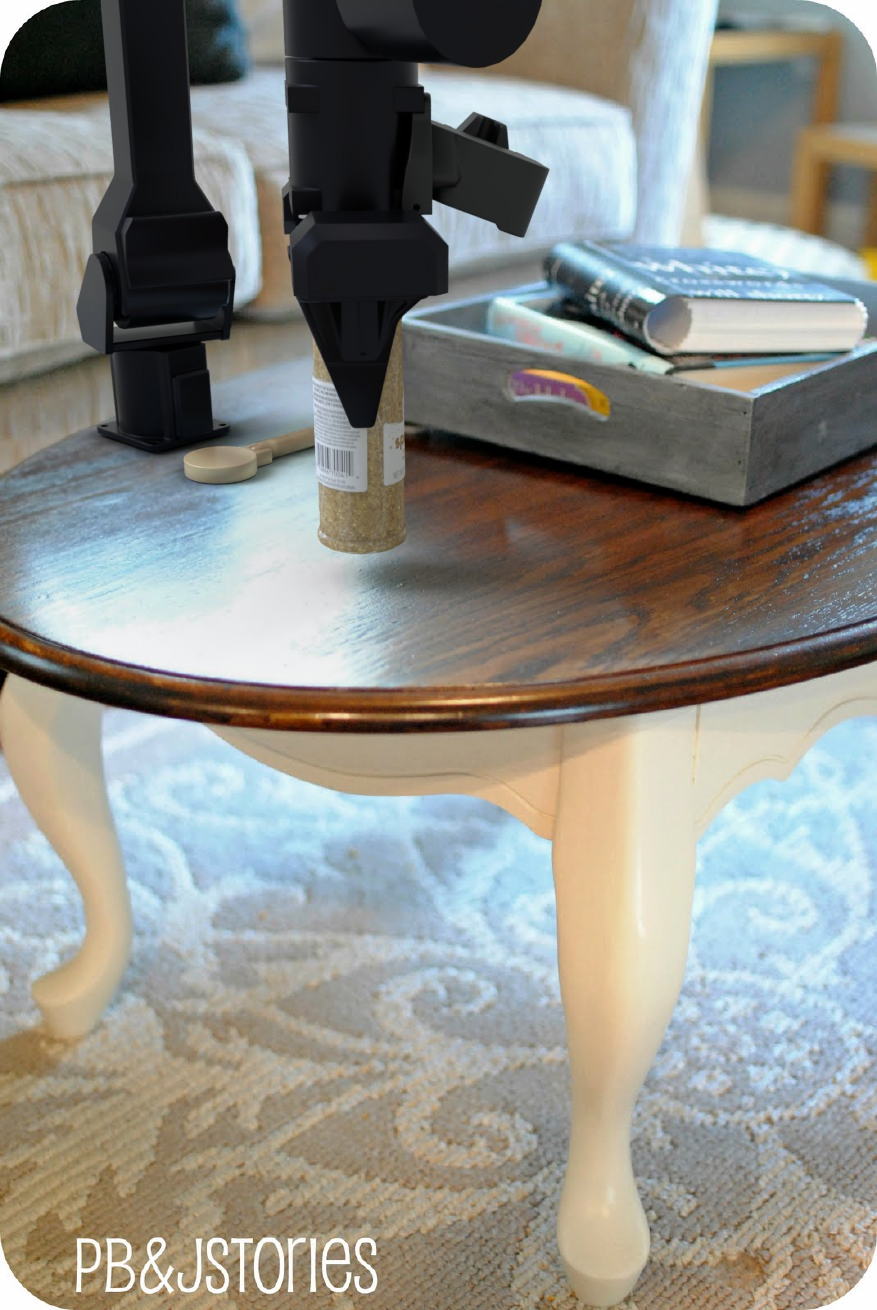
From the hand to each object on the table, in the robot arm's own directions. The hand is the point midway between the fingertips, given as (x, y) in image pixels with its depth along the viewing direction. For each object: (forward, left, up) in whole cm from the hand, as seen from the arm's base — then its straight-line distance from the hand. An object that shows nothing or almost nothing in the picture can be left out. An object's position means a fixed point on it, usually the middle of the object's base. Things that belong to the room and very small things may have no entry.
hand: (359, 413), depth 65 cm
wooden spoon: (-18, +10, -8) cm, 22 cm away
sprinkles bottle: (0, 0, -7) cm, 7 cm away
